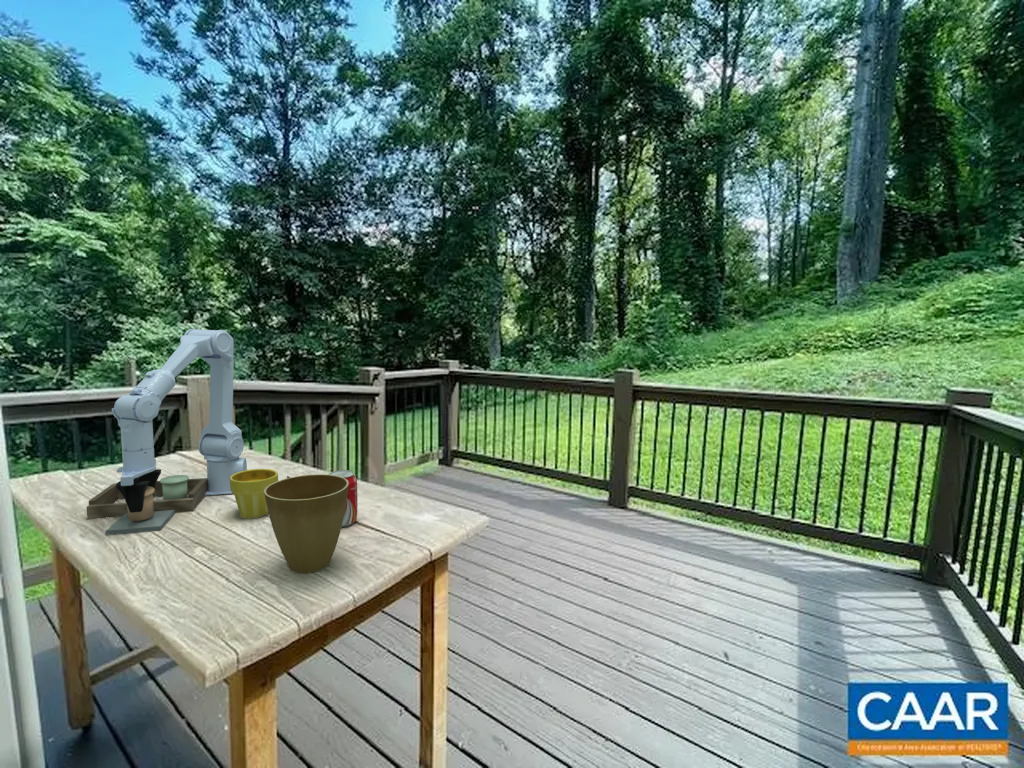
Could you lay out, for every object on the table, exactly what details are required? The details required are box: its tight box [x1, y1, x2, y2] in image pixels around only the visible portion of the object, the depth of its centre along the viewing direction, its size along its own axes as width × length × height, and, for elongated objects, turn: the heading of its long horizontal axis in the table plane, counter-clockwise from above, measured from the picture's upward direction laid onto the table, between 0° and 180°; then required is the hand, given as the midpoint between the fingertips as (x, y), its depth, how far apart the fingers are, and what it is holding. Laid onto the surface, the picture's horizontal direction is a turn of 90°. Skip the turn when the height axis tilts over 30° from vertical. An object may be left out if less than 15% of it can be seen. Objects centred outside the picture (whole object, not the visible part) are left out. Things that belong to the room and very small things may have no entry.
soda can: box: [327, 469, 358, 528], centre depth 117 cm, size 7×7×12 cm
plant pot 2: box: [264, 473, 349, 574], centre depth 96 cm, size 15×15×16 cm
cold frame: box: [85, 477, 208, 520], centre depth 125 cm, size 21×14×4 cm
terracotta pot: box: [127, 486, 155, 521], centre depth 113 cm, size 6×6×6 cm
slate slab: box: [105, 510, 176, 536], centre depth 114 cm, size 10×10×1 cm
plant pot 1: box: [230, 468, 279, 519], centre depth 122 cm, size 10×10×10 cm
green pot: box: [159, 474, 190, 500], centre depth 127 cm, size 6×6×6 cm
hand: (141, 506), depth 113 cm, fingers closed on terracotta pot, 5 cm apart
